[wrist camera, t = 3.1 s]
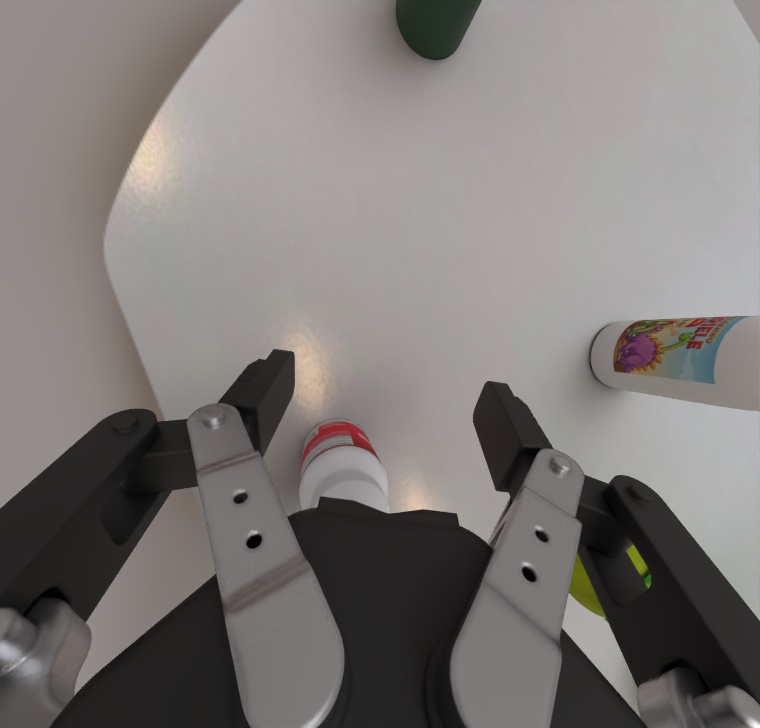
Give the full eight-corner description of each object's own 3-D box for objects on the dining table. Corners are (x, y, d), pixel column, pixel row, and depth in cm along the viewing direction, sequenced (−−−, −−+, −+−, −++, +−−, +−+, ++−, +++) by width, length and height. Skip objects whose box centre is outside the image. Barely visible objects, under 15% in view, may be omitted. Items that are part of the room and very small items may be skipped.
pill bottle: (372, 471, 29) (407, 551, 18) (309, 487, 27) (306, 583, 17) (362, 410, 28) (394, 457, 17) (297, 424, 27) (287, 483, 16)
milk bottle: (650, 356, 35) (1059, 383, 16) (608, 400, 35) (986, 483, 15) (621, 307, 34) (1038, 269, 14) (576, 352, 33) (955, 376, 14)
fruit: (517, 517, 33) (601, 592, 24) (581, 478, 35) (685, 533, 25) (540, 580, 35) (629, 674, 25) (601, 539, 36) (705, 613, 27)
